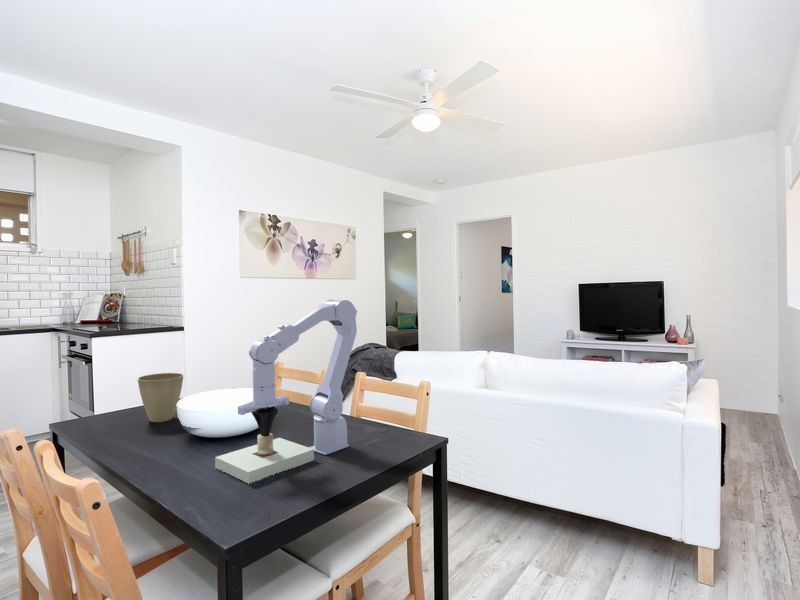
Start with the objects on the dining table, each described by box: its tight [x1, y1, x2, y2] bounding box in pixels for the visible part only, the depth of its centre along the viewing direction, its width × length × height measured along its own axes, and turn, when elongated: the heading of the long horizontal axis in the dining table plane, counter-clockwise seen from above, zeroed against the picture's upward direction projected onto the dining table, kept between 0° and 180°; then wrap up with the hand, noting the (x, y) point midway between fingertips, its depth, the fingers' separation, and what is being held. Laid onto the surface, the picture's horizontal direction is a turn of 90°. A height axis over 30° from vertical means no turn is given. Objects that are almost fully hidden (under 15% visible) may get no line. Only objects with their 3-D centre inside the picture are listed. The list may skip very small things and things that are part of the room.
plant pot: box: [137, 372, 184, 423], centre depth 167 cm, size 15×15×16 cm
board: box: [214, 437, 315, 485], centre depth 122 cm, size 20×16×3 cm
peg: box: [256, 432, 274, 458], centre depth 122 cm, size 4×4×8 cm
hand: (264, 435), depth 122 cm, fingers closed, pressing on peg
